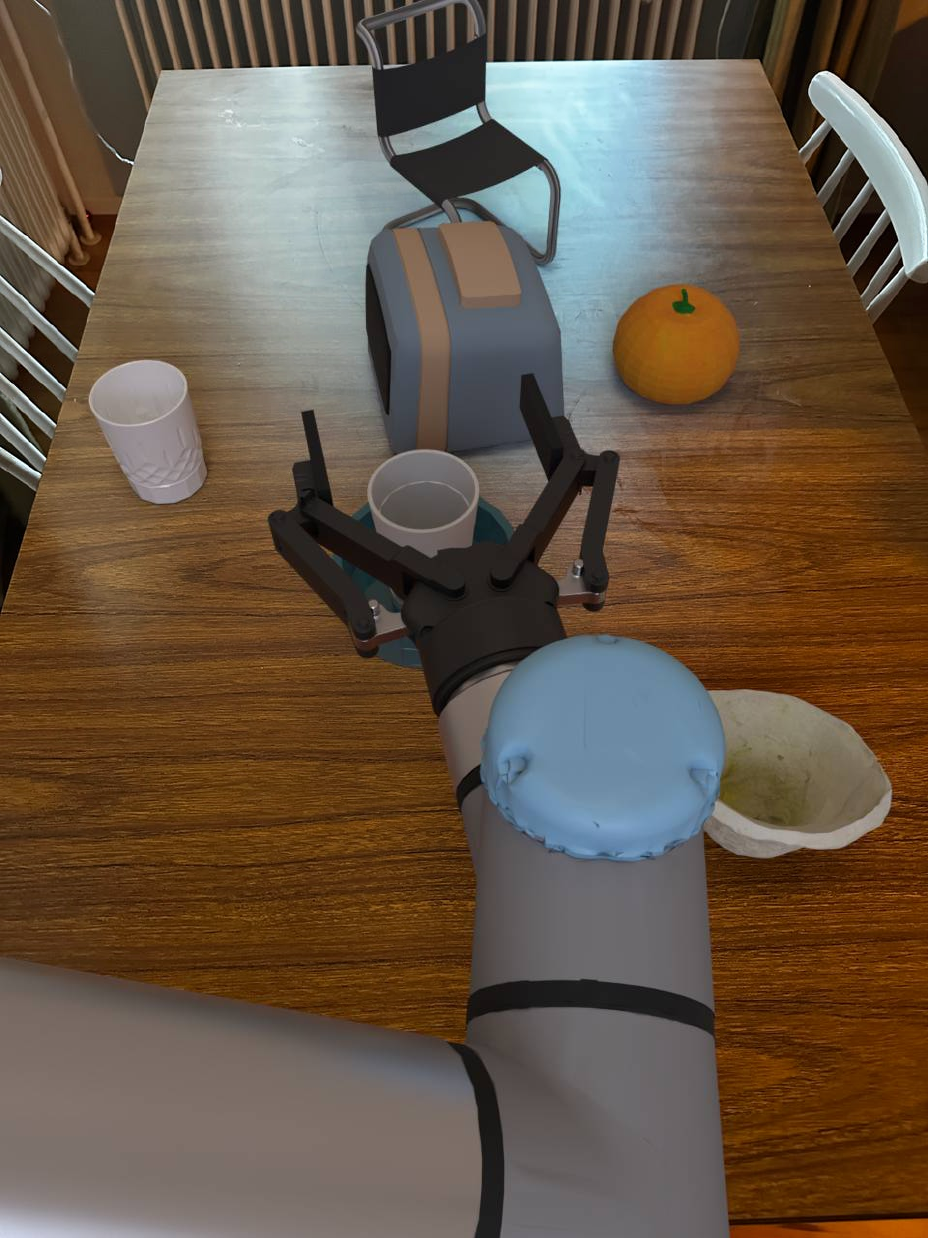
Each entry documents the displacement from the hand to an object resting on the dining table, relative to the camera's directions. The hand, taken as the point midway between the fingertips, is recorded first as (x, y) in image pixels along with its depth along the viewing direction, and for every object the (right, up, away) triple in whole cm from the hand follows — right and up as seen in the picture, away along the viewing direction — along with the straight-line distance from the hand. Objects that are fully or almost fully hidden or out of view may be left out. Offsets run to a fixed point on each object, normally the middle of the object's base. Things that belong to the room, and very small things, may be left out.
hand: (419, 408), depth 59 cm
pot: (0, -11, +19) cm, 22 cm away
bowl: (+23, -26, +9) cm, 36 cm away
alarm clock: (+3, +8, +33) cm, 34 cm away
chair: (+3, +27, +45) cm, 53 cm away
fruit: (+23, +10, +34) cm, 42 cm away
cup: (0, -11, +19) cm, 22 cm away
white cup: (-24, 0, +27) cm, 36 cm away
